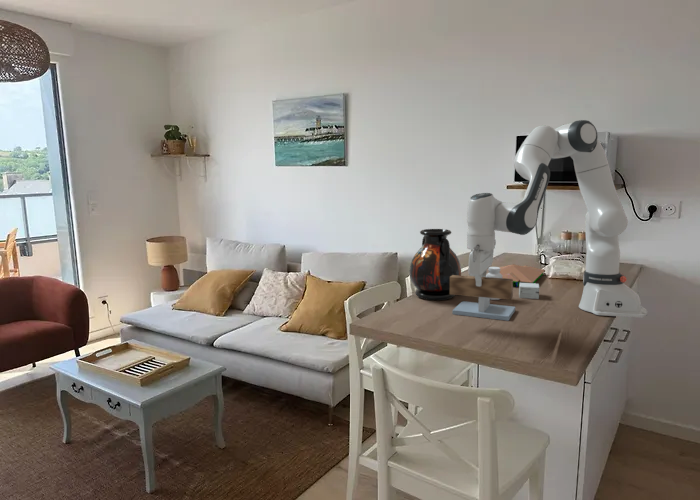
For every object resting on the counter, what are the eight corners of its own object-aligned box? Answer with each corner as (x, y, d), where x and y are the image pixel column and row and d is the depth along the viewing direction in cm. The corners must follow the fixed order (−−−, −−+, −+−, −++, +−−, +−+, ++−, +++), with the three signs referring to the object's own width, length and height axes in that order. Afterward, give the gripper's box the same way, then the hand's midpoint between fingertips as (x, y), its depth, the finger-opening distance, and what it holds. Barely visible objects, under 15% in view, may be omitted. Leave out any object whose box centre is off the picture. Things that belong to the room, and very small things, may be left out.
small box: (518, 298, 201) (519, 286, 201) (518, 293, 209) (519, 282, 208) (539, 299, 199) (539, 287, 198) (538, 295, 206) (538, 283, 205)
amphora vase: (400, 293, 213) (400, 229, 208) (442, 288, 221) (443, 226, 216) (425, 305, 193) (426, 234, 189) (471, 299, 201) (473, 231, 197)
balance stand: (515, 310, 183) (515, 289, 182) (508, 320, 171) (509, 298, 170) (462, 304, 193) (462, 285, 191) (452, 314, 180) (452, 293, 179)
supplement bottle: (502, 300, 198) (503, 269, 196) (485, 300, 199) (486, 269, 197) (501, 296, 204) (501, 266, 202) (484, 296, 205) (485, 266, 203)
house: (478, 285, 226) (479, 268, 225) (498, 272, 254) (498, 257, 253) (530, 291, 214) (531, 272, 213) (544, 276, 242) (545, 260, 241)
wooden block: (512, 296, 160) (512, 278, 159) (510, 299, 157) (511, 281, 156) (452, 292, 169) (452, 275, 168) (449, 294, 166) (449, 277, 165)
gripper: (483, 248, 150) (483, 292, 152) (496, 239, 168) (496, 278, 170) (463, 247, 153) (463, 290, 155) (478, 238, 171) (477, 277, 173)
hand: (480, 284), depth 163 cm, fingers closed on wooden block, 3 cm apart
